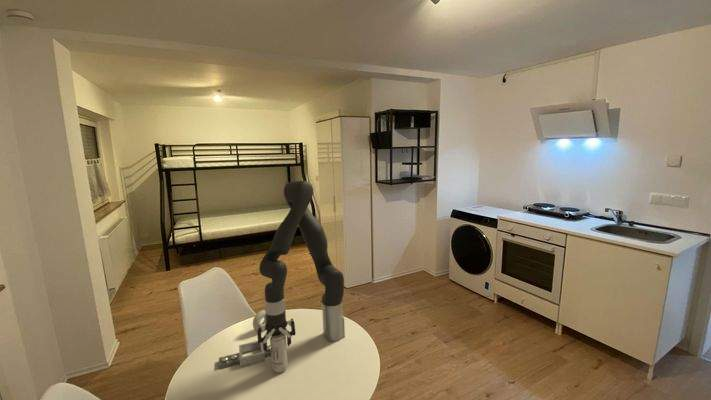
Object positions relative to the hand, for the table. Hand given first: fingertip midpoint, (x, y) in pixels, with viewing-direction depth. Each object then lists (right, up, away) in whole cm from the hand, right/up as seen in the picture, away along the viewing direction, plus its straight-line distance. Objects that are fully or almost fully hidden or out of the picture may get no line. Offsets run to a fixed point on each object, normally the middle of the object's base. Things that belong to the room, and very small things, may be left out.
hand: (277, 347), depth 121 cm
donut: (-14, -5, +28) cm, 31 cm away
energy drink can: (+1, -9, +2) cm, 9 cm away
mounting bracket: (-13, -8, +9) cm, 18 cm away
